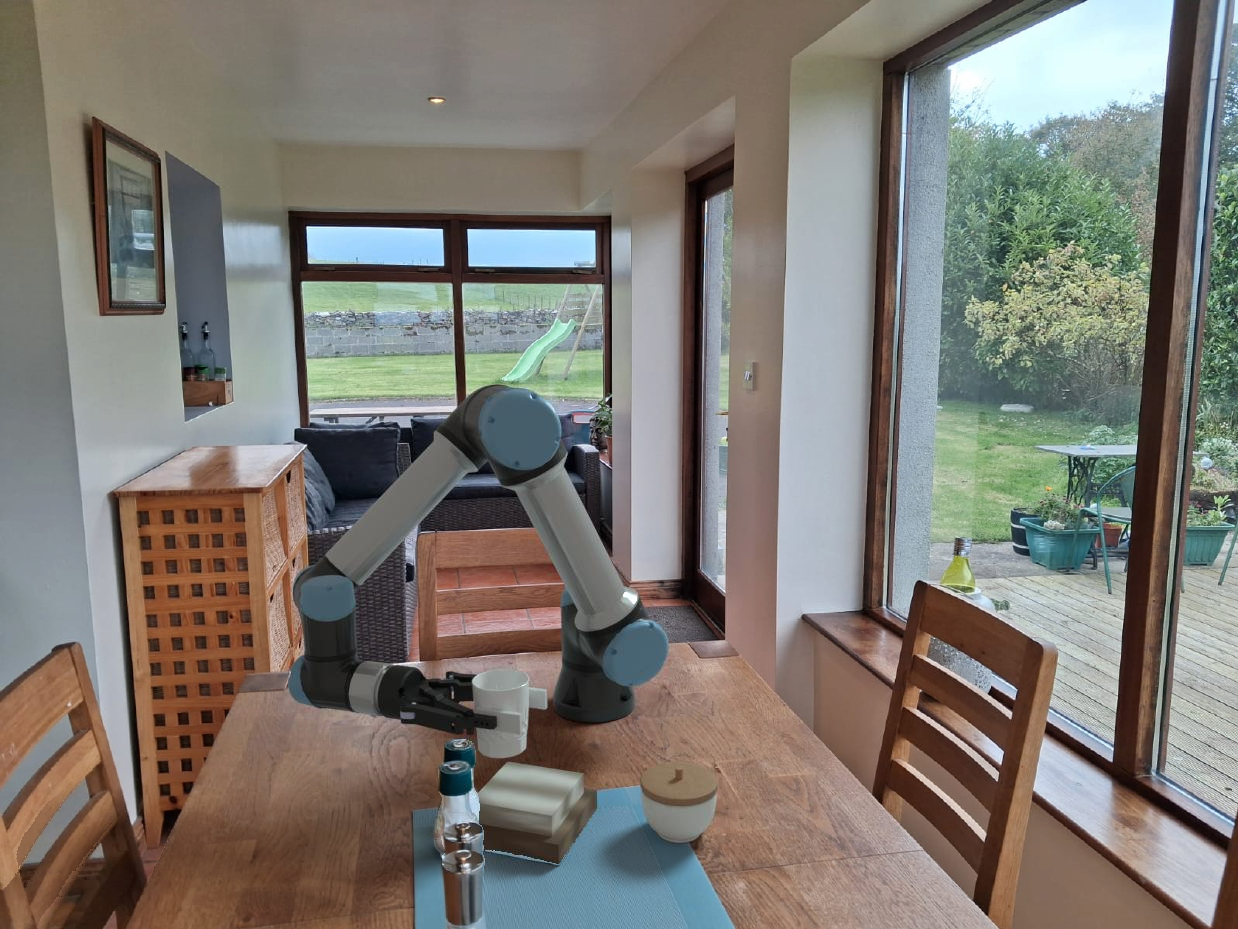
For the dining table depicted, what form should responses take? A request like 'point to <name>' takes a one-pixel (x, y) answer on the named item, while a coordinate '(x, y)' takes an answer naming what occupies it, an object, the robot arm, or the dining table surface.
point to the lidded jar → (679, 799)
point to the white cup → (502, 694)
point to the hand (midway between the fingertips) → (533, 711)
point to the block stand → (534, 811)
